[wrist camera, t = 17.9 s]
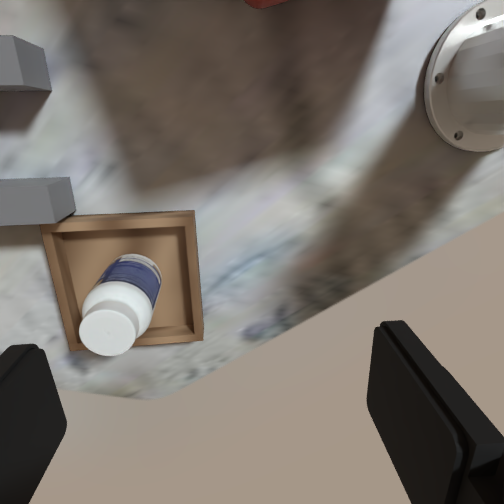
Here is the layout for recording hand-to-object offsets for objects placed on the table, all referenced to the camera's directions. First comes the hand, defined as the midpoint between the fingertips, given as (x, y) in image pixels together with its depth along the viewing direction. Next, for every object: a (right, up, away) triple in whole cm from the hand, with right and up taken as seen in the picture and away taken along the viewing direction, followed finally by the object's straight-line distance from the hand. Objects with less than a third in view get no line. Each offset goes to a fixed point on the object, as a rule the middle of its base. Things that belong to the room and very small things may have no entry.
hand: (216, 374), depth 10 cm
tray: (-11, +1, +25) cm, 27 cm away
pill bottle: (-11, +1, +24) cm, 27 cm away
